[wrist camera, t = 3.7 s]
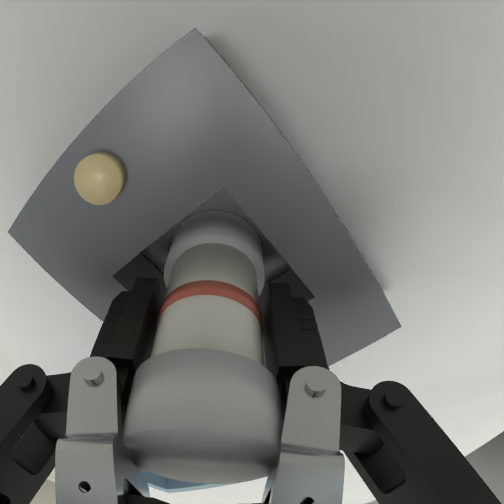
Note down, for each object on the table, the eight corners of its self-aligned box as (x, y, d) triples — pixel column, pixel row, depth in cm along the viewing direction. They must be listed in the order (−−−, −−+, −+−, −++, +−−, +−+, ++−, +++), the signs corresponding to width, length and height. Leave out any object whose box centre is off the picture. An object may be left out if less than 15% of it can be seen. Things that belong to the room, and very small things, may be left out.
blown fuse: (223, 192, 12) (207, 409, 5) (278, 258, 14) (316, 462, 6) (154, 244, 13) (89, 444, 6) (211, 299, 15) (200, 489, 7)
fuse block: (204, 37, 9) (192, 25, 6) (383, 292, 15) (405, 334, 13) (37, 204, 12) (1, 238, 9) (228, 373, 18) (228, 416, 16)
